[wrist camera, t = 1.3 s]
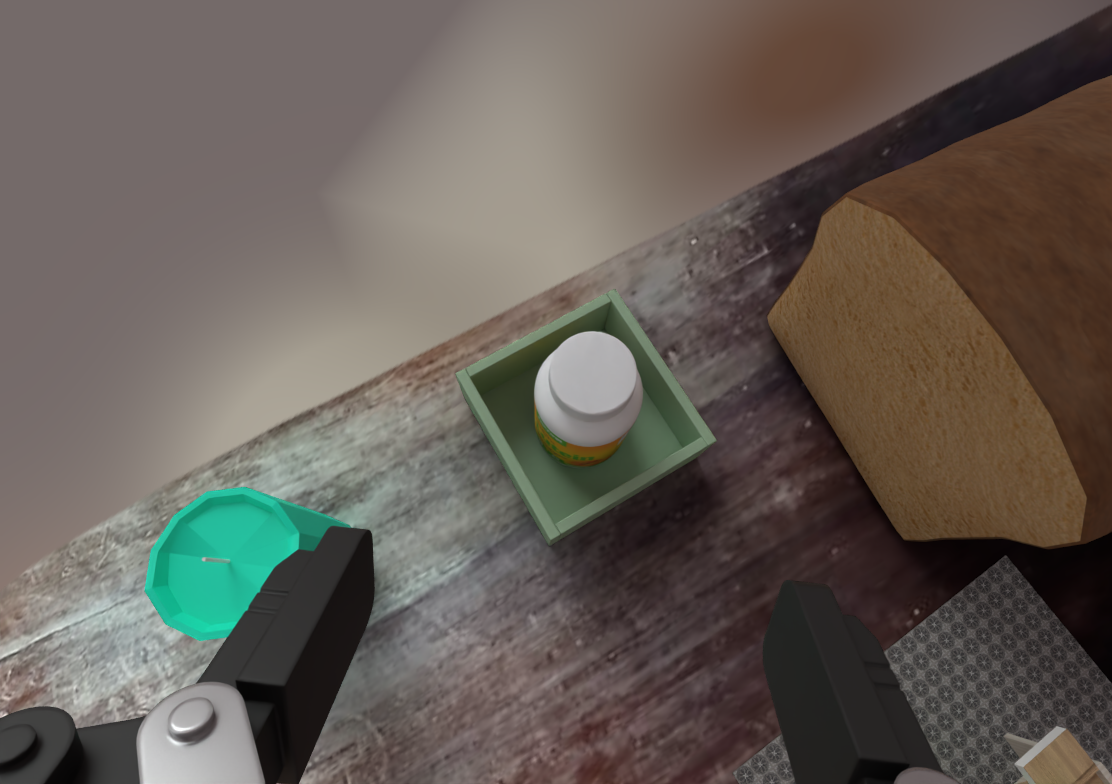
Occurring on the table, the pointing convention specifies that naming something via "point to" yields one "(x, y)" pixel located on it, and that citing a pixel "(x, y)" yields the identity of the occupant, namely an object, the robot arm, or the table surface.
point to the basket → (642, 459)
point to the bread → (973, 330)
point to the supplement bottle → (586, 399)
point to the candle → (225, 557)
